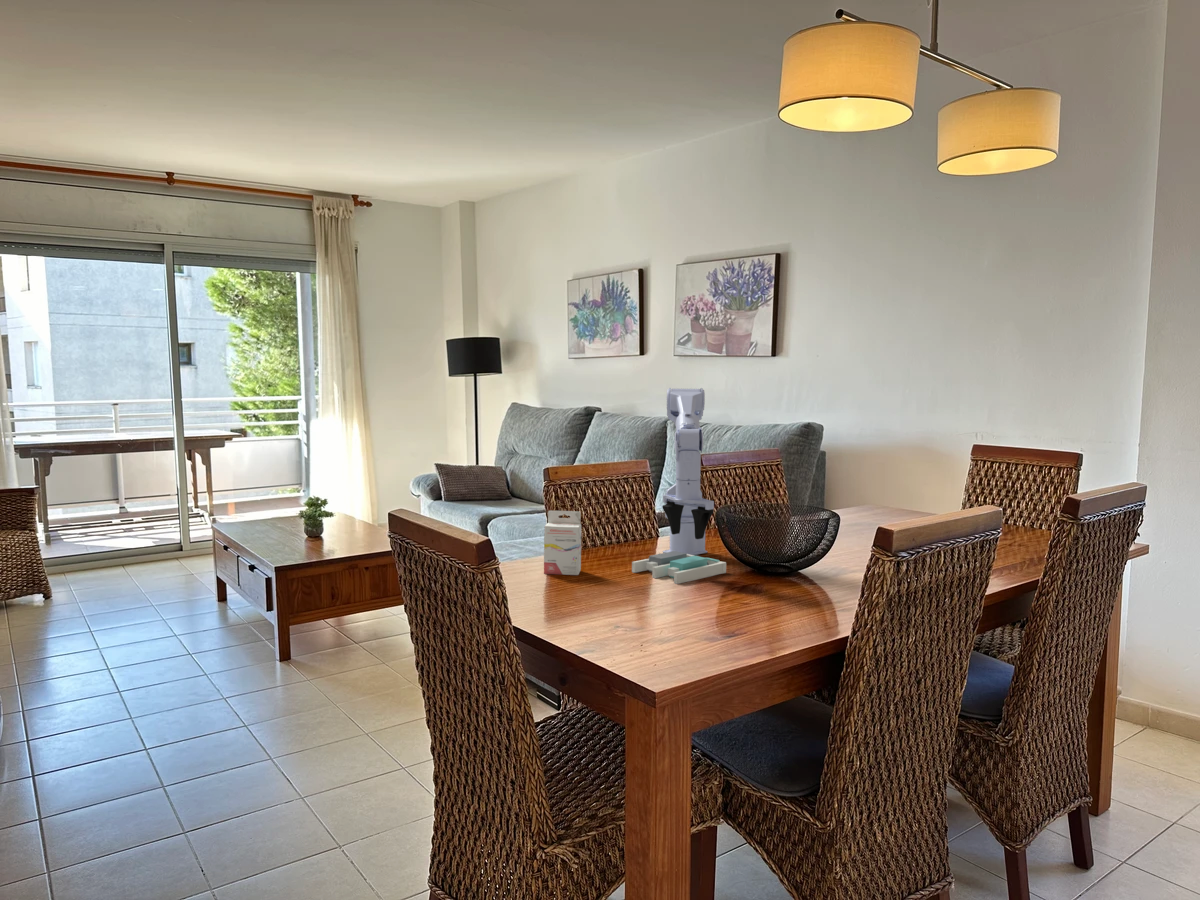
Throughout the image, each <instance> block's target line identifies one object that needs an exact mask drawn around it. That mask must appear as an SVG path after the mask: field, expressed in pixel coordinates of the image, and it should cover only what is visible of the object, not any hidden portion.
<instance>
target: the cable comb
mask: <svg viewBox="0 0 1200 900" xmlns="http://www.w3.org/2000/svg"><path fill="white" fill-rule="evenodd" d="M691 556H696V555H690V554H687V557H691ZM706 558H707V561H708V563H709V565H706V566H701V567H697V568H692V569H687V570H683V571H678V572H674V578H673V584H675V585H678V584H683V583H686V582H687V583H688V582H691V581H696V580H700V579H704V578H710V577H713V576H717V575H721V574H722V575H723V574H726V573H727V562H726V561H720V560H721V559H720V560H719V559H715V558H710V557H706ZM647 562H649V558H644V559H641V560H640V559H639V560H636V561H635V560H634V561H631V572H632V573H640V572H645V571H646V572H647V571H648V570H647V569H646V563H647ZM667 568H670V563H669V564H665V565H660V566H655V567H652V572H651V573H652V574H651V576H652V579H658V578H659V579H660V578H662V577H668V576H669V575H667Z"/></svg>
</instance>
